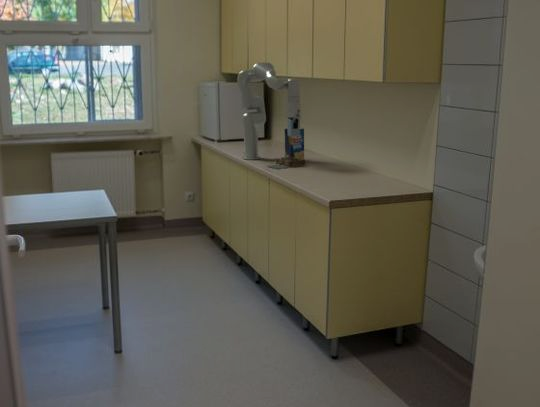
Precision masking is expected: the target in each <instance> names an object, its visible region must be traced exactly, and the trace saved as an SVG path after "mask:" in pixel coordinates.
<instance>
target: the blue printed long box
mask: <svg viewBox="0 0 540 407" xmlns="http://www.w3.org/2000/svg"><path fill="white" fill-rule="evenodd" d="M284 157H293V158H298V159H303V160H305V128H304V127H300V135H299V136H288V128H284Z"/></svg>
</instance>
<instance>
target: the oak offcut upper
mask: <svg viewBox="0 0 540 407" xmlns="http://www.w3.org/2000/svg"><path fill="white" fill-rule="evenodd" d="M280 159H282V160H286V161H290V160H291V157H285V156H283V157H280Z"/></svg>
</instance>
